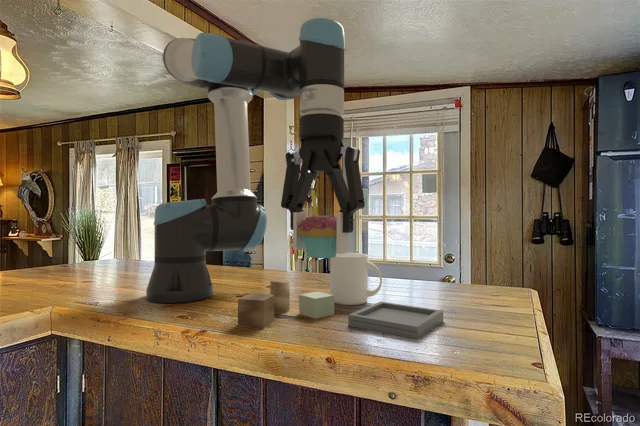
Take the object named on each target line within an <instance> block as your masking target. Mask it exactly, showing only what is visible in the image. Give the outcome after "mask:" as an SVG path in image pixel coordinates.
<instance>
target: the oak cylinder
mask: <svg viewBox="0 0 640 426" xmlns="http://www.w3.org/2000/svg"><path fill="white" fill-rule="evenodd" d="M290 283H291V281H290V280H289V279H288V280H287V279H274V280H270V283H269V284H270V286H269V289H270V290H269V293H270V294H269V295H274V313H277V314H278V313H280V314H281V313H287V311H288V312H290V309H291V308H290V301H291V300H290V299H291V298H290V291H291V290H290Z"/></svg>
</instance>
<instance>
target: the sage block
mask: <svg viewBox="0 0 640 426" xmlns="http://www.w3.org/2000/svg"><path fill="white" fill-rule="evenodd" d="M298 297H299V298H298V299H299V300H298V301H299V302H298V303H299V304H298V305H299V306H298V307H299V311H298V313H300V315H302V316H306V317H309V318H311V319H320V318H324V317H330V316H334V315H335V303H334V295H331V294H330V293H326V292H323V291H318V290H317V291H313V292H305V293H302V294H301V293H299V295H298Z"/></svg>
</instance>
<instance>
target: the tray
mask: <svg viewBox="0 0 640 426" xmlns="http://www.w3.org/2000/svg"><path fill="white" fill-rule="evenodd" d="M347 319H348V321H347V323H348V325H347V326H348V327H352V328H353V327H354V328H358V329H362V330H368V331H373V332H378V333H384V334H387V335H388V334H389V335H395V336H399V337H403V338H404V337H405V338H409V339H414V340H418V339H420V338H421V337H423V336H424V335H426V334H427V333H429V332H430V331H432V330H433V329H434V328H436V327H438V326H439V325H440V324H441V323H443V322H444V310H441V309H434V308H430V307H429V308H428V307H422V306H414V305H408V304H399V303H394V302H393V303H392V302H387V301H378V302H377V303H373V304H372V305H369V306H365V307H364V308H360V309H359V310H356V311H354V312H352V313H349V314H348V315H347Z"/></svg>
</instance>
